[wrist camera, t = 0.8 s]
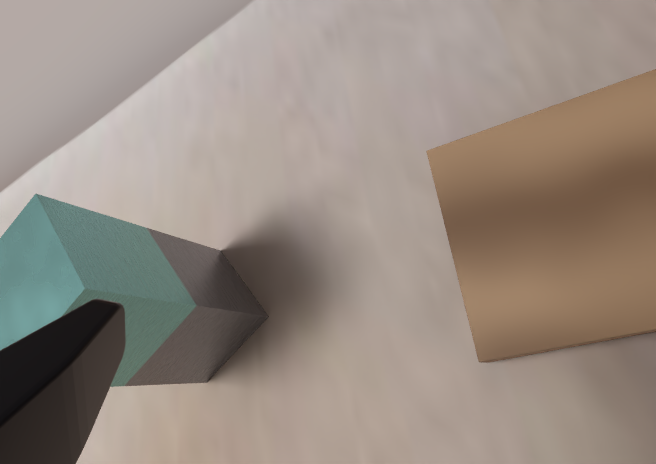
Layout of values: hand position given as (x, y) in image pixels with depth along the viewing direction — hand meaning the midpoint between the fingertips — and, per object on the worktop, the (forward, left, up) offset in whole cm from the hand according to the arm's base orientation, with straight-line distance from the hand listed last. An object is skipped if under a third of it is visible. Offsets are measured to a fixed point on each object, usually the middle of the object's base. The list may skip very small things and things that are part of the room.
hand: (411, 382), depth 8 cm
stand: (+6, -3, -15) cm, 16 cm away
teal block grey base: (+4, +15, -15) cm, 22 cm away
